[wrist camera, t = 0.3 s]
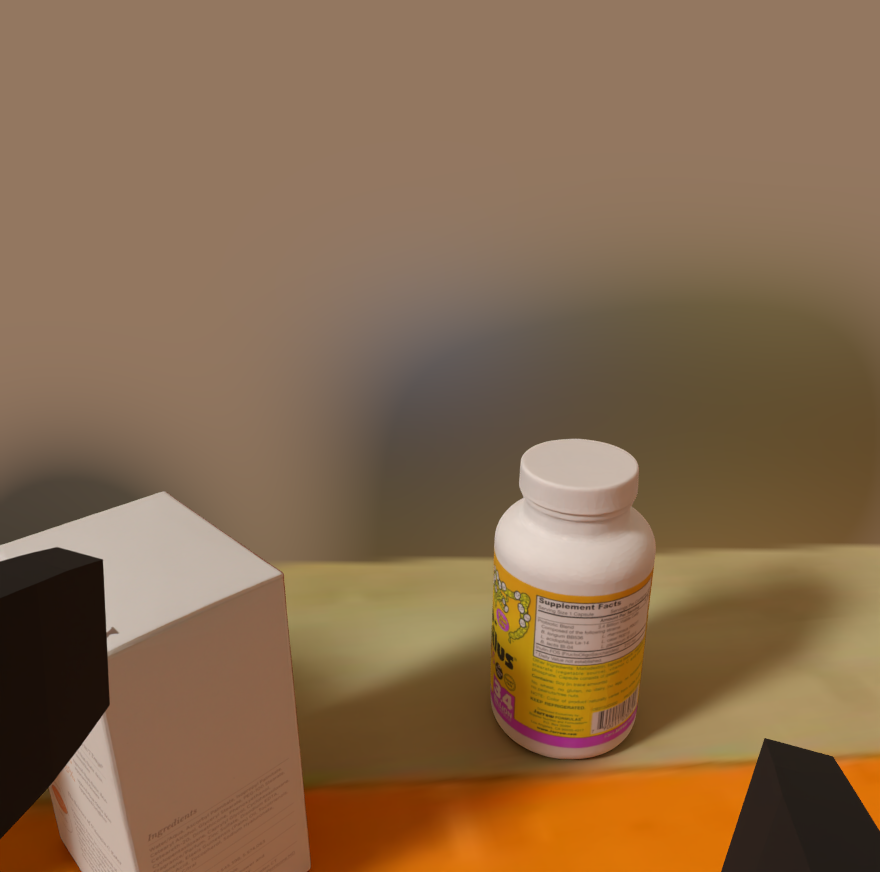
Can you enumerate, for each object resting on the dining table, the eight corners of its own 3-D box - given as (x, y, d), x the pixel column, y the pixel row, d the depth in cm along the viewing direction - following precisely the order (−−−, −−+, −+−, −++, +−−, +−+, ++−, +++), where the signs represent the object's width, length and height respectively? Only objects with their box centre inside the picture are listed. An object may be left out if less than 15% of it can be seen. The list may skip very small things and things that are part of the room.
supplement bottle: (496, 659, 42) (504, 423, 37) (631, 673, 41) (658, 432, 36) (481, 758, 36) (487, 492, 31) (639, 777, 35) (672, 506, 30)
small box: (315, 871, 31) (289, 571, 26) (155, 990, 27) (86, 664, 22) (205, 753, 37) (164, 485, 31) (57, 838, 33) (-17, 547, 27)
